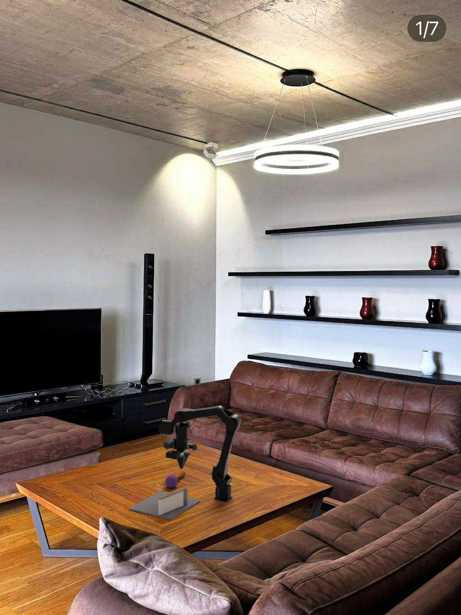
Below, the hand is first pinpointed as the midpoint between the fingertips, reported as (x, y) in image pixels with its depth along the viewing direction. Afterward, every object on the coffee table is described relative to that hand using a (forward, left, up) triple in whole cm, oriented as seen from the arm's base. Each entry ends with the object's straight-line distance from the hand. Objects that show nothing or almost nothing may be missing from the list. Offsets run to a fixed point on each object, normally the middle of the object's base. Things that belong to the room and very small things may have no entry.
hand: (181, 468), depth 280 cm
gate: (-8, +20, -11) cm, 25 cm away
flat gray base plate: (-2, +16, -12) cm, 20 cm away
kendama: (+11, -12, -12) cm, 20 cm away
